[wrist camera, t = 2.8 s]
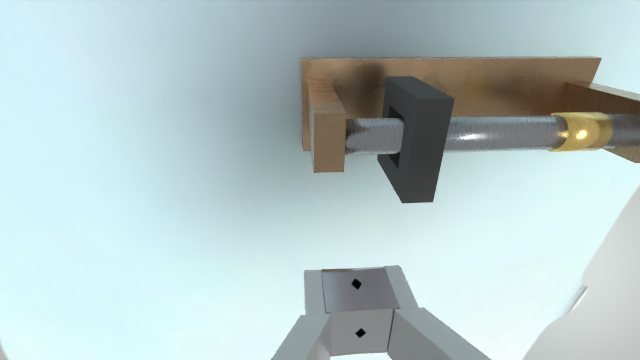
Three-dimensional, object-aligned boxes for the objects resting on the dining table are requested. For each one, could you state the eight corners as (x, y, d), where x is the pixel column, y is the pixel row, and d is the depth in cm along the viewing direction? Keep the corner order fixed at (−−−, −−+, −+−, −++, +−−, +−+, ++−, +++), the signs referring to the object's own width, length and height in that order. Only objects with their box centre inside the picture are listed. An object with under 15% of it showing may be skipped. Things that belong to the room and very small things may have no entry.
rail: (303, 147, 29) (306, 199, 21) (300, 58, 26) (304, 79, 17) (560, 141, 31) (655, 187, 23) (593, 56, 27) (722, 75, 19)
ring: (377, 159, 25) (402, 203, 20) (385, 76, 22) (418, 99, 16) (401, 159, 26) (432, 202, 20) (413, 76, 22) (454, 98, 17)
